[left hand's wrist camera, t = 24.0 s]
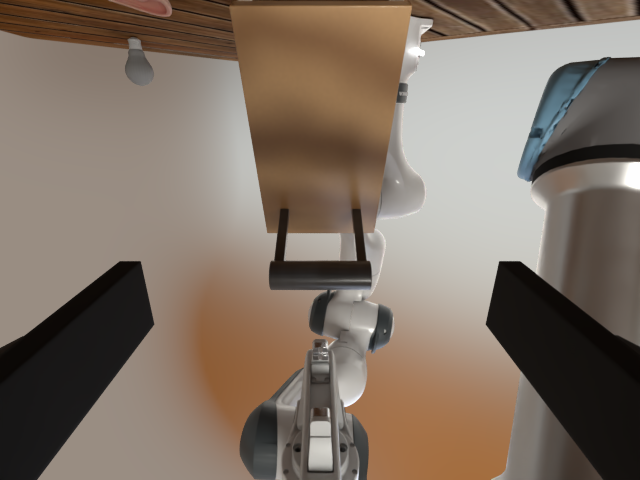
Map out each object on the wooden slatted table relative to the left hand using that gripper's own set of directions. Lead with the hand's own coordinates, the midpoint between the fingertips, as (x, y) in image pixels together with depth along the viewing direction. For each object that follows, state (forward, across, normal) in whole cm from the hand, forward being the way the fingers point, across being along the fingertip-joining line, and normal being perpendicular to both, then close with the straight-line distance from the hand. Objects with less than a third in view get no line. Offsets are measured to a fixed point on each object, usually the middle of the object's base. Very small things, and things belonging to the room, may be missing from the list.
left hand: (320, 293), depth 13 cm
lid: (+14, 0, -4) cm, 14 cm away
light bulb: (+79, +43, -21) cm, 92 cm away
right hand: (+16, 0, +18) cm, 24 cm away
